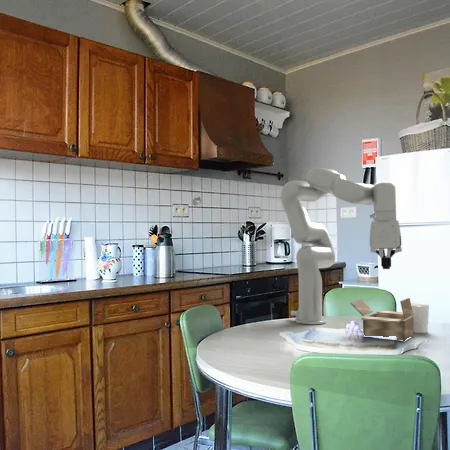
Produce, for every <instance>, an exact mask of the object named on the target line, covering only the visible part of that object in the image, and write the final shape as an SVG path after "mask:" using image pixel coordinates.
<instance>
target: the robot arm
mask: <svg viewBox="0 0 450 450" xmlns="http://www.w3.org/2000/svg"><path fill="white" fill-rule="evenodd" d="M280 193H281V194H280V201H281V202H280V203H281V205H282V208H283V210H284V212H285V214H286V217H287V220H288V223H289V226H290V227H289V228H290V230H291V233H292V238H293V239H294V241H295V242H296V243H297V245H298V244H299V245H305V246H302V247H301V248H299V249H298V250H297V252H296V258H295V259H296V265H297V272H298V310H291V311H290V316H291V317H292V316H295V318H294V321H295V323H297V324H302V325H323V324H326V323H327V319H325V318H323V279H322V274H321V271H320V269H327V268H330V267H332V266H333V265H334V263H335V261H336V255H335V254H336V253H335V250H334V247H333V244H332V241H331V238H330V234H329V231H328V230H327V228H326V226H325V225H323V224H322V223H319V222H312V221H311V220H310V218H309V214H308V212H307V210H306V208H305V206H303V204H302V203H301V202H316V201H318V200H320V199H321V198H323V197H325V196H326V195H328V194H331V195H333V196H334V197H335V198H336V199H339V200H341V201H344V202H347V203H349V204H354V205H364V206H373V212H372V214H370V215H369V218H370V219H373V220H372V221H371V222H370V230H369V247H370V250H369V251H370V253H374V254H377V255H378V256H379V257H380V260H381V264H380V265H381V267H382V270H390V268H391V267H392V257H393V256H394V255H395V254H397V253H401V252H403V249H402V234H401V226H400V221H399V220H397V199H396V198H397V197H396V185H395V183H394V182H393V181H392V182H391V181H380V182H376V183H374V184H368V183H367V184H366V183H360V182H359V183H358V182H354V181H351V180H349V179H346V176H345V175H343V174H342V173H338V172H337V171H336V170H334V169H331V168H325V167H313V168H311V169H310V170H309V171H308V172H307V173H306V181H303V180H291V181H288V182H286V183H285V184H284V185H283V187H282V189H281V192H280ZM385 250H386V252H385Z"/></svg>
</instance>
